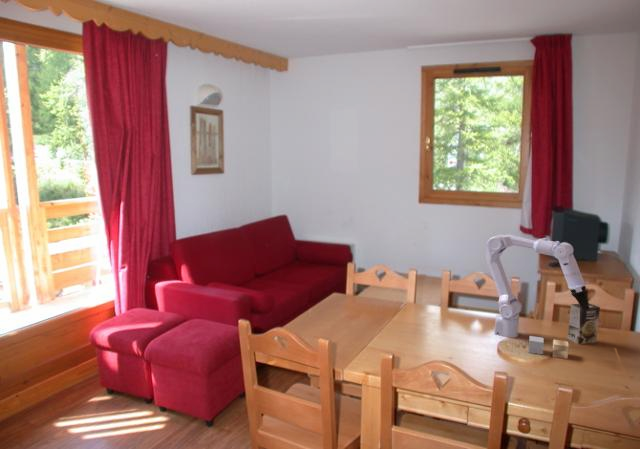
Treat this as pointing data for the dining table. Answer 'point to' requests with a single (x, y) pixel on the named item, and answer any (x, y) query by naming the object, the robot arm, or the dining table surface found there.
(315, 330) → the dining table surface
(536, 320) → the dining table surface
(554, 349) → the maple block
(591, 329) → the coffee box
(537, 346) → the grey block
